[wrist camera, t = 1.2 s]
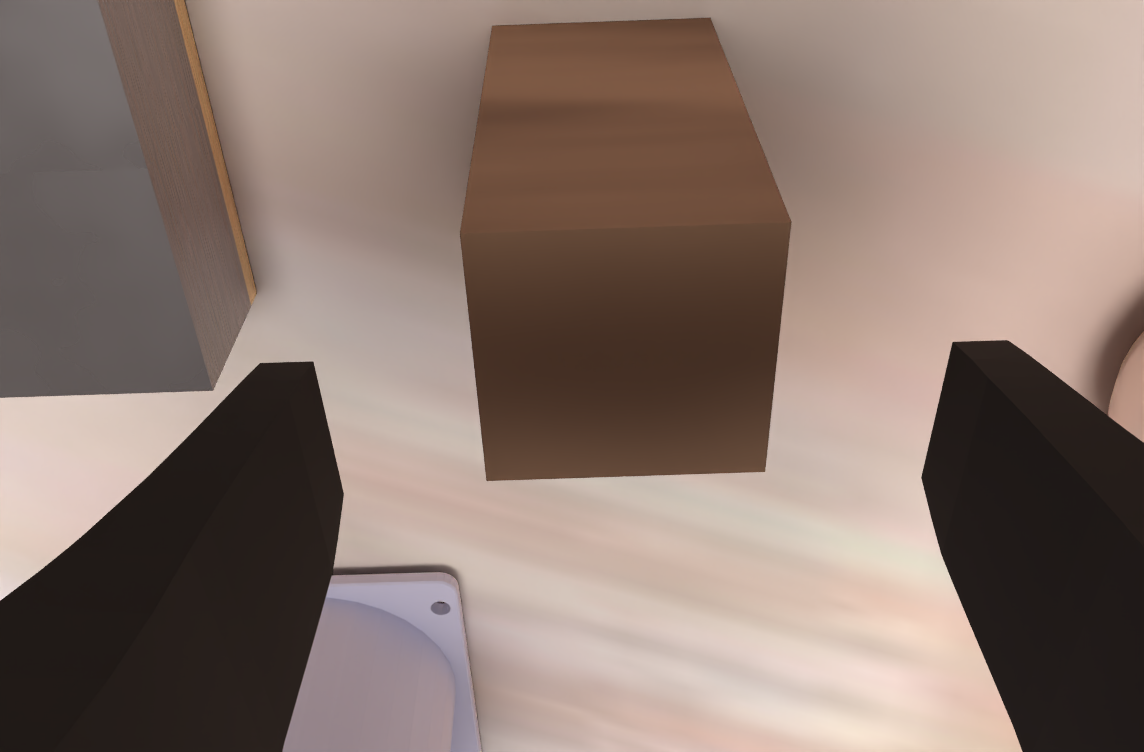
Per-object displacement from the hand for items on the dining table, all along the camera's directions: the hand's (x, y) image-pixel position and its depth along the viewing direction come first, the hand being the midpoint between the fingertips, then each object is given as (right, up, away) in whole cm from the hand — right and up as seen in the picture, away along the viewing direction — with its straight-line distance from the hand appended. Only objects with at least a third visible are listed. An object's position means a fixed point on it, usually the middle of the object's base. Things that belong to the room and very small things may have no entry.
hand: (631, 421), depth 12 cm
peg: (0, +5, +8) cm, 10 cm away
